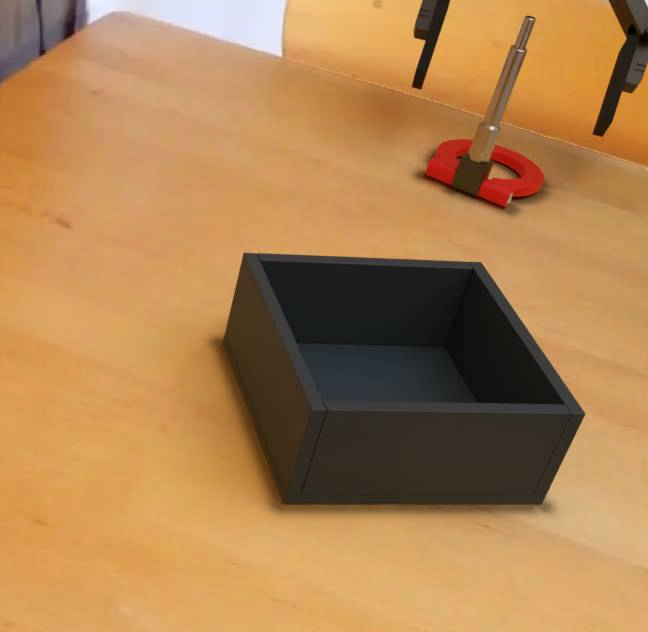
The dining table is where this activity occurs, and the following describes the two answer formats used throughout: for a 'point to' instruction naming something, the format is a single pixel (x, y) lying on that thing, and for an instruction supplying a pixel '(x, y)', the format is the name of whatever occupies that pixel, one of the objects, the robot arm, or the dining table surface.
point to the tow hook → (490, 144)
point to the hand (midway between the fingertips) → (509, 104)
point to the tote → (395, 382)
